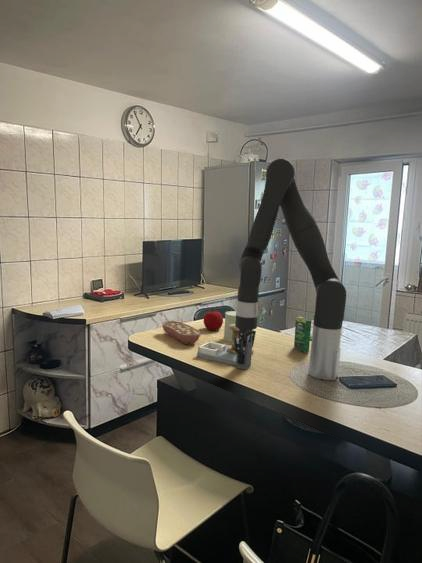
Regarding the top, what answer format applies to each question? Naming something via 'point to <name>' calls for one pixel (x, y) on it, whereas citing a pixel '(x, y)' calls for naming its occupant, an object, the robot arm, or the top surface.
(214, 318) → the apple
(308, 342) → the coffee box
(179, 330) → the bread loaf
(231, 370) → the top surface
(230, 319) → the can
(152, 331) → the top surface
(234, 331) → the bobbin
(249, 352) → the gray rectangular block
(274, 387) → the top surface
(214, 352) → the board
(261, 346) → the top surface
